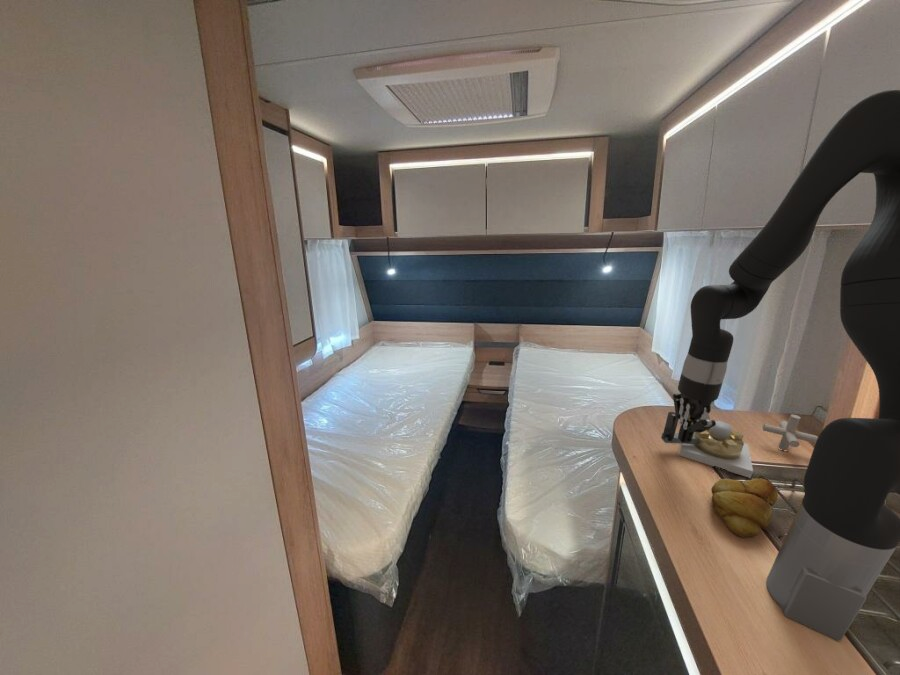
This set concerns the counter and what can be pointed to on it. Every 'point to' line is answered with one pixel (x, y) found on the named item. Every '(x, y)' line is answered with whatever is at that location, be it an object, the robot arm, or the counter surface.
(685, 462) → the counter surface
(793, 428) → the pipe connector
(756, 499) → the bread roll
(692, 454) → the flange plate
